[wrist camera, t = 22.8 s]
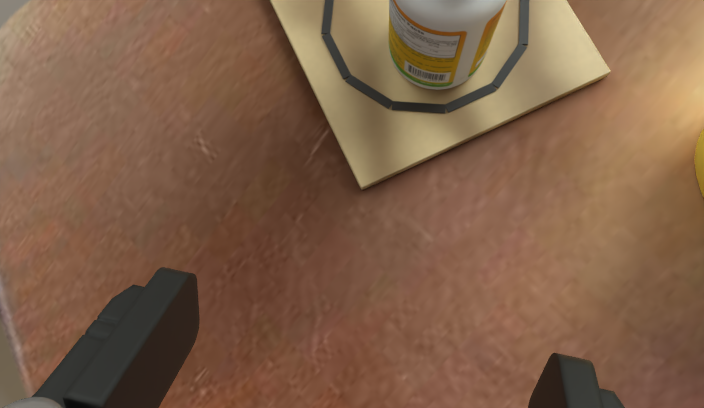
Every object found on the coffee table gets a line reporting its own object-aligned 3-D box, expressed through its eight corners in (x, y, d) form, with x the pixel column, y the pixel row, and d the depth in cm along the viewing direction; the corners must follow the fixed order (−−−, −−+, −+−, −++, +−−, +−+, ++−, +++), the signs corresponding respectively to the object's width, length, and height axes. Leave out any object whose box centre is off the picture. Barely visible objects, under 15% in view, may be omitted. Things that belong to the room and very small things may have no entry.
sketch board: (361, 191, 29) (361, 187, 29) (255, -29, 32) (252, -36, 32) (607, 76, 30) (612, 70, 29) (479, -129, 33) (481, -138, 32)
